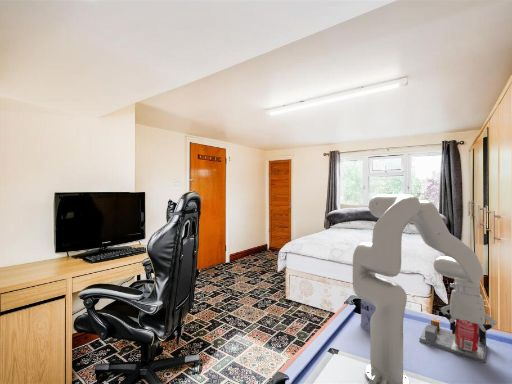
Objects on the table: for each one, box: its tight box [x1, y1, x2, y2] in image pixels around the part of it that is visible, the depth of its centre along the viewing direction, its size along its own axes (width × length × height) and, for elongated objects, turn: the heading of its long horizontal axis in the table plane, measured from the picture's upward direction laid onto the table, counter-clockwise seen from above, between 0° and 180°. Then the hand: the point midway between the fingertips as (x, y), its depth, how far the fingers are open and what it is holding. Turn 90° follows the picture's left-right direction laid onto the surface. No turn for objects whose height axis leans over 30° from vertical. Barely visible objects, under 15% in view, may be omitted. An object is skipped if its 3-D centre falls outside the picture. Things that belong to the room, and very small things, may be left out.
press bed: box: [418, 318, 487, 364], centre depth 104 cm, size 16×20×11 cm
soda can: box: [455, 319, 480, 352], centre depth 98 cm, size 7×7×12 cm
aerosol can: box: [360, 298, 376, 332], centre depth 118 cm, size 8×8×20 cm
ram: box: [425, 318, 441, 342], centre depth 109 cm, size 15×3×4 cm, turn 137°
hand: (467, 336), depth 98 cm, fingers open, 7 cm apart
